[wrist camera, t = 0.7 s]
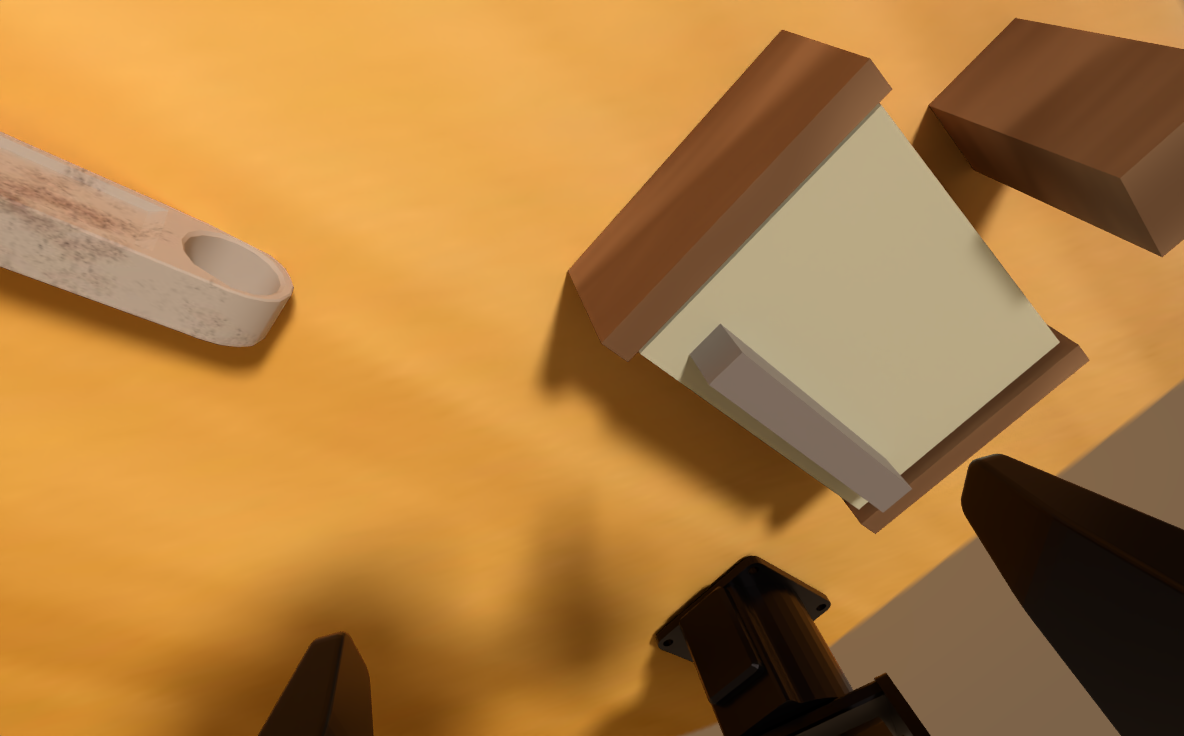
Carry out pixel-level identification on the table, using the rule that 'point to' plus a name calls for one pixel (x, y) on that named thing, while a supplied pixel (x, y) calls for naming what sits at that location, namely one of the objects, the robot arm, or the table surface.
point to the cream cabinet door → (856, 321)
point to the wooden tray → (743, 202)
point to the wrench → (132, 251)
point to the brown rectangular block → (1078, 126)
